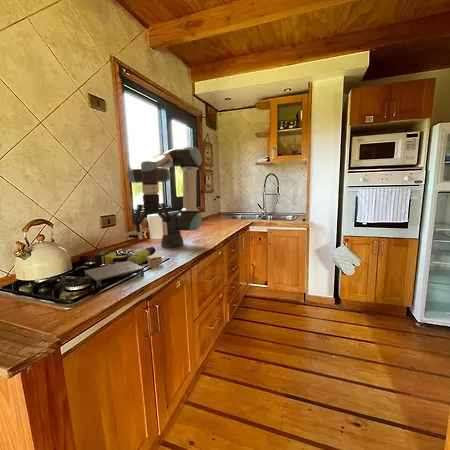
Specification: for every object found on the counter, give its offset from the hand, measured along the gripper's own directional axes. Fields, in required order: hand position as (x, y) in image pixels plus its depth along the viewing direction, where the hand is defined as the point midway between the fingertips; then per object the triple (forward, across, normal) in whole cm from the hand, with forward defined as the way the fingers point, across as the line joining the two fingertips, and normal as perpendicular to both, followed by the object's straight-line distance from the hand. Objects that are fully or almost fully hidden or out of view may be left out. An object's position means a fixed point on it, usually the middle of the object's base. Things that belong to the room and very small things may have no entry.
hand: (153, 236), depth 125 cm
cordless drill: (+16, -5, +20) cm, 26 cm away
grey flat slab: (+15, -21, -2) cm, 26 cm away
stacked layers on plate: (+16, 0, 0) cm, 16 cm away
